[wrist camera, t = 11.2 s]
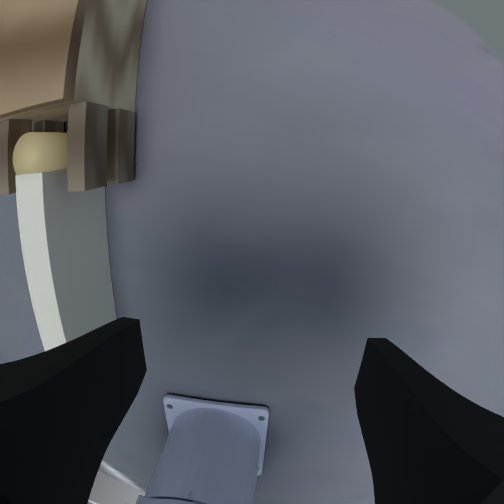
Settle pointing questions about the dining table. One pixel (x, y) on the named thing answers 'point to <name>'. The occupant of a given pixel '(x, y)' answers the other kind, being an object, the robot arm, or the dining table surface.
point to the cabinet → (71, 84)
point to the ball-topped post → (61, 242)
